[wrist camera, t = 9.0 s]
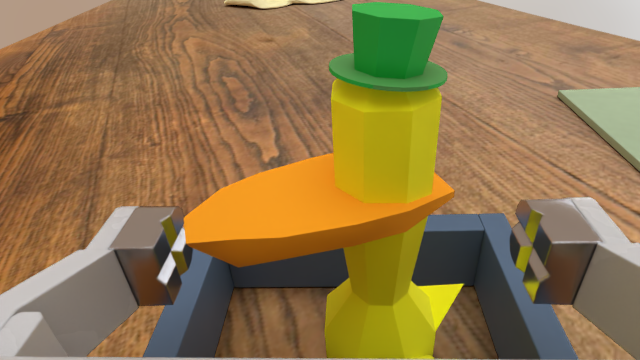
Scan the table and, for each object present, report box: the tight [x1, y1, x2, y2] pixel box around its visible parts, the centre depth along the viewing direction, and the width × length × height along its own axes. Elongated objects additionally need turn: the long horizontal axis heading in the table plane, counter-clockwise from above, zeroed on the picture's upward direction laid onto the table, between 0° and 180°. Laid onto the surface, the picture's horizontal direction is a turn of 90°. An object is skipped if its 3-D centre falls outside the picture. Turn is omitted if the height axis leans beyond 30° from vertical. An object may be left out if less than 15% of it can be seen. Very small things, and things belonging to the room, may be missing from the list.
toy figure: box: [184, 2, 463, 359], centre depth 10 cm, size 7×4×12 cm, turn 108°
